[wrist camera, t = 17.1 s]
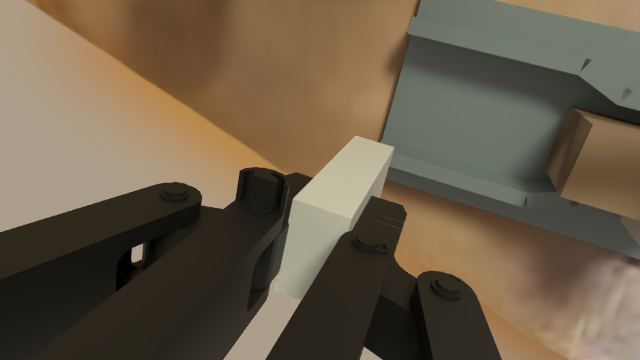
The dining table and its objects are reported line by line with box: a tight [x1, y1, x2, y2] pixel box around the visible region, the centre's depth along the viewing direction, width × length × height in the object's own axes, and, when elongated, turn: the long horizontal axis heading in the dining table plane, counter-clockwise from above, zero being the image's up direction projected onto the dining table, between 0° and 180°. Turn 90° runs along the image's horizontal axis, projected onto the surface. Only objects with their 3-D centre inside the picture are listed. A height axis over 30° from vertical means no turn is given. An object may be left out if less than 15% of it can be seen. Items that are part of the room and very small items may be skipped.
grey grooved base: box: [380, 0, 640, 260], centre depth 32 cm, size 16×24×11 cm, turn 77°
